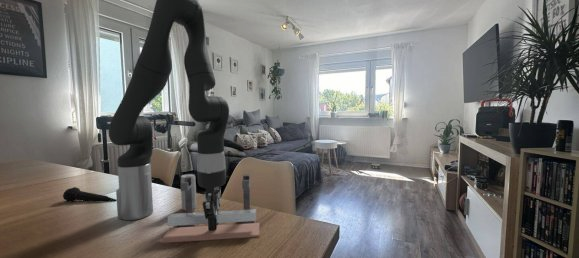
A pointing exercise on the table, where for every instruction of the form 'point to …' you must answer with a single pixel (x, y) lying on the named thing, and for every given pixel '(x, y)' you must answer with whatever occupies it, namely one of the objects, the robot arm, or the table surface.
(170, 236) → the felt mat
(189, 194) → the hook standards
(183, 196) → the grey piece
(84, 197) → the microphone
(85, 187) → the table surface
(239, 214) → the steel rail
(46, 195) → the table surface
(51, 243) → the table surface
